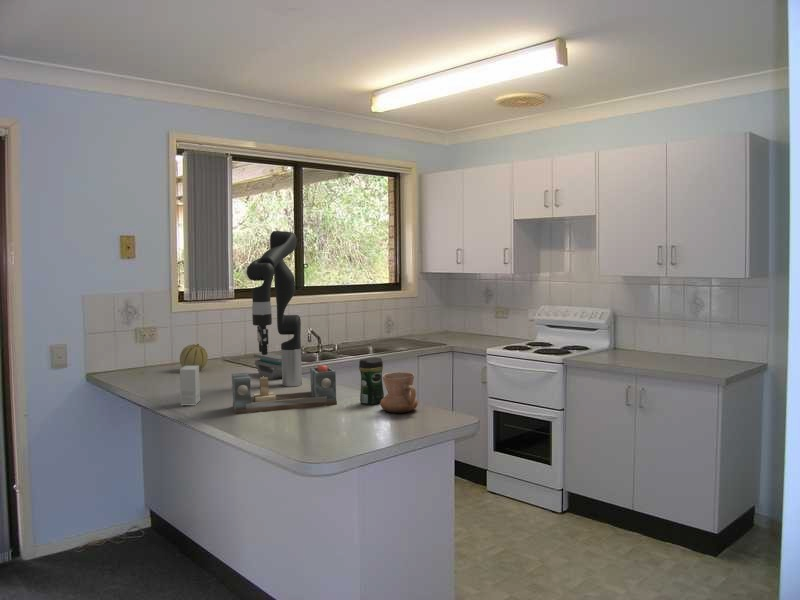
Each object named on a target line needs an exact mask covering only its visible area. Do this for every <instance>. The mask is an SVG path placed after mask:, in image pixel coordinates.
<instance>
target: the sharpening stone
mask: <svg viewBox="0 0 800 600" xmlns="http://www.w3.org/2000/svg"><path fill="white" fill-rule="evenodd" d="M253 358H256V359H257V358H258V359H257V360H254V365H255V367H256V369H257V372H258V374H259V376H260V375H261V376H264V377H268V379H269V378H270V380H276V378H277V379H282V357H281V354H278V353H273V352H268V354H267V355H262V352H259V353H254V354H253ZM261 376H260V377H261Z"/></svg>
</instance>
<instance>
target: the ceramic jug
mask: <svg viewBox="0 0 800 600" xmlns="http://www.w3.org/2000/svg"><path fill="white" fill-rule="evenodd" d="M414 379H415V374H414V373H413V372H409V371H407V372H406V371H394V372H393V371H392V372H387V373H384V374H382V382H383V384H384V386H385V389H386V392H387V395H384V398H383V399H382V400H381V402H380V403H379V405H380V407H381V408H382V409H383V410H384V411H386V412H388V413H394V414H399V413H400V414H401V413H402V414H404V413H408V412H411V411H413V410H415V409H416V408H417V407H418V404H419V401H418V399H417V391H416V387H415V386H414V385H413V384H414Z"/></svg>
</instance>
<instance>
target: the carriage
mask: <svg viewBox="0 0 800 600" xmlns="http://www.w3.org/2000/svg"><path fill="white" fill-rule="evenodd" d="M269 390H270V389H269V378H268V377H261V376H260V377H259V393H252V395H253V399H254V403H255V402H267V401H276V395H275V392H269Z"/></svg>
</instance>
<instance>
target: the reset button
mask: <svg viewBox="0 0 800 600" xmlns="http://www.w3.org/2000/svg"><path fill="white" fill-rule="evenodd" d="M327 367H328V364H327V365H325V364H324V365H323V364H322V365H318V366H317V368H318V372H326V371H328V370H327Z"/></svg>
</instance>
